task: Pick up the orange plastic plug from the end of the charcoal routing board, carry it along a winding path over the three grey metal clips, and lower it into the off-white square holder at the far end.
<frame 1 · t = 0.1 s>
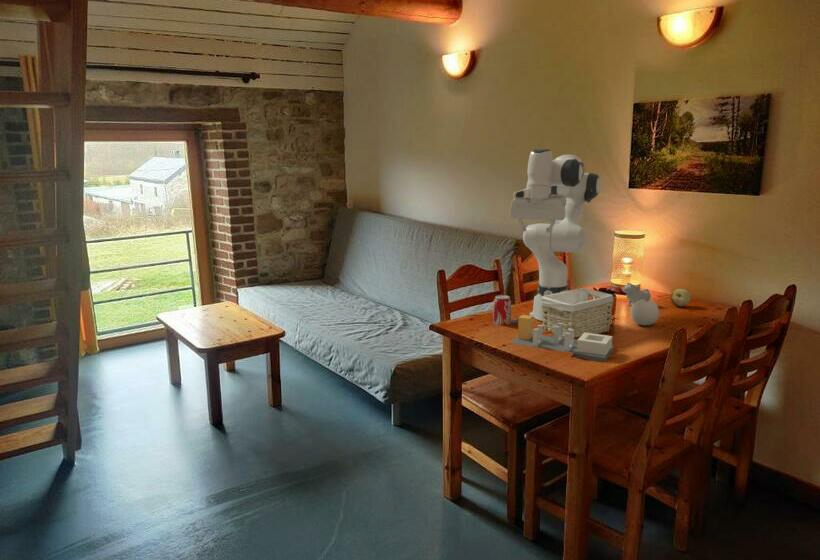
hand: (536, 231, 221), 39 cm above the table, tool pointing down, fingers open, 8 cm apart
plug: (525, 338, 219), point 1 cm above the table, touching routing board
dog figurine: (635, 306, 265), on the table
ornament: (643, 325, 238), on the table
routing board: (560, 348, 212), on the table
storage basket: (575, 333, 230), on the table
fruit: (679, 307, 264), on the table
soda can: (501, 326, 239), on the table
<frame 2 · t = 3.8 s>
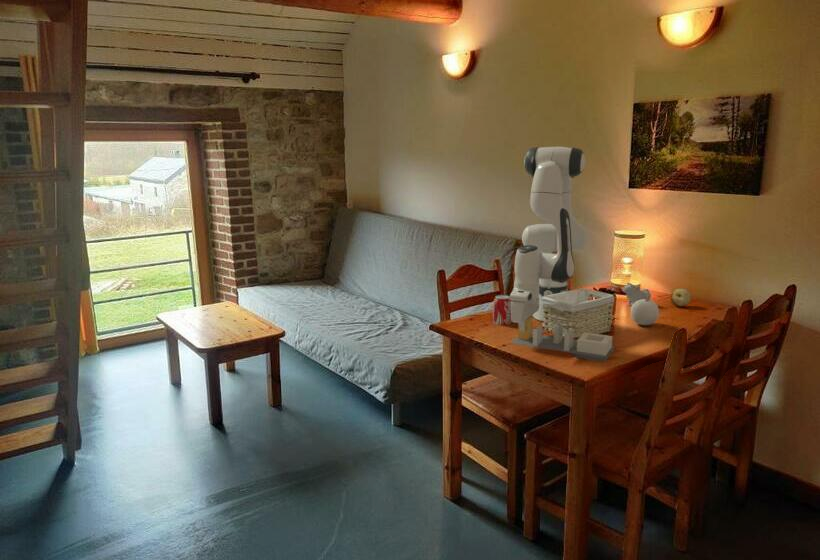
hand: (525, 328, 218), 5 cm above the table, tool pointing down, fingers closed on plug, 4 cm apart
plug: (525, 338, 219), point 2 cm above the table, touching gripper, routing board
everything else where it was.
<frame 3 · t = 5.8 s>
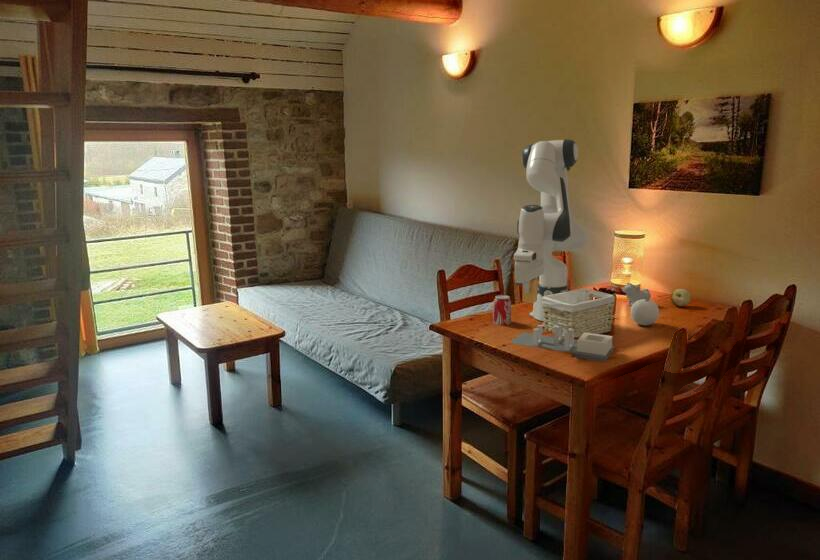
hand: (529, 291, 212), 20 cm above the table, tool pointing down, fingers closed on plug, 4 cm apart
plug: (529, 301, 213), point 16 cm above the table, touching gripper
everything else where it was.
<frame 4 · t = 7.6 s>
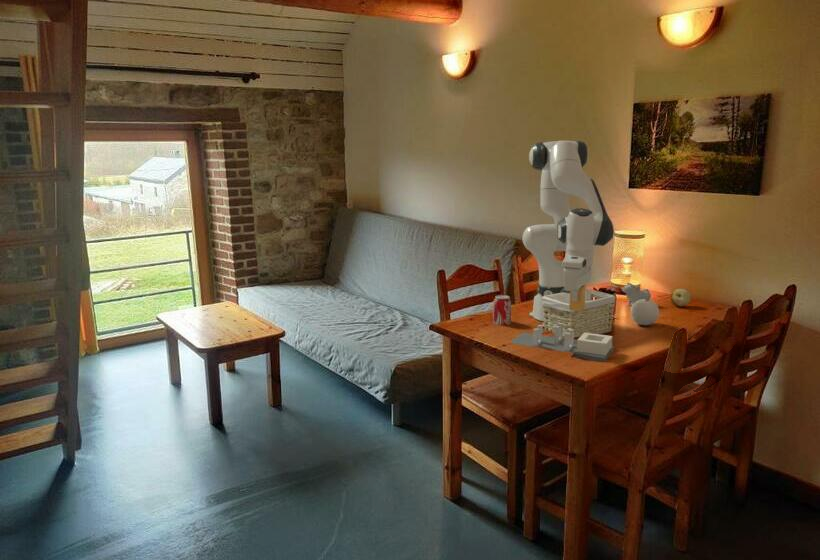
hand: (577, 299, 202), 19 cm above the table, tool pointing down, fingers closed on plug, 4 cm apart
plug: (577, 309, 203), point 16 cm above the table, touching gripper
everything else where it was.
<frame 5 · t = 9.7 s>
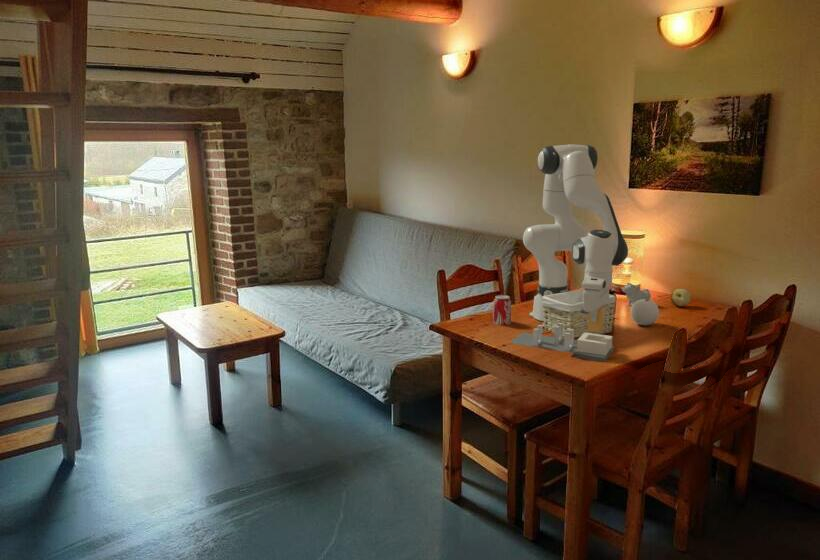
hand: (596, 319, 203), 12 cm above the table, tool pointing down, fingers closed on plug, 4 cm apart
plug: (595, 329, 204), point 9 cm above the table, touching gripper
everything else where it was.
when the fingers open (7 cm above the table, at t = 11.6 s): plug drops 2 cm, resting on routing board.
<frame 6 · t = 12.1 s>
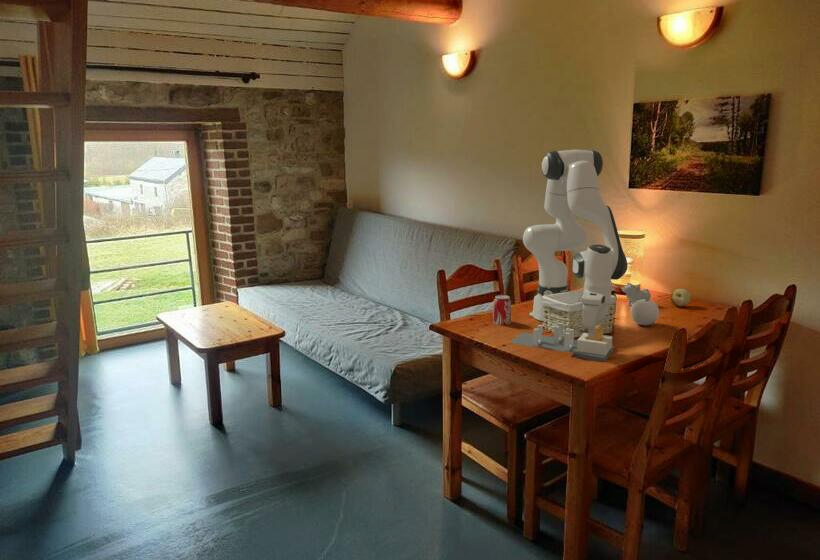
hand: (595, 333, 204), 7 cm above the table, tool pointing down, fingers open, 8 cm apart
plug: (594, 349, 206), point 1 cm above the table, touching routing board
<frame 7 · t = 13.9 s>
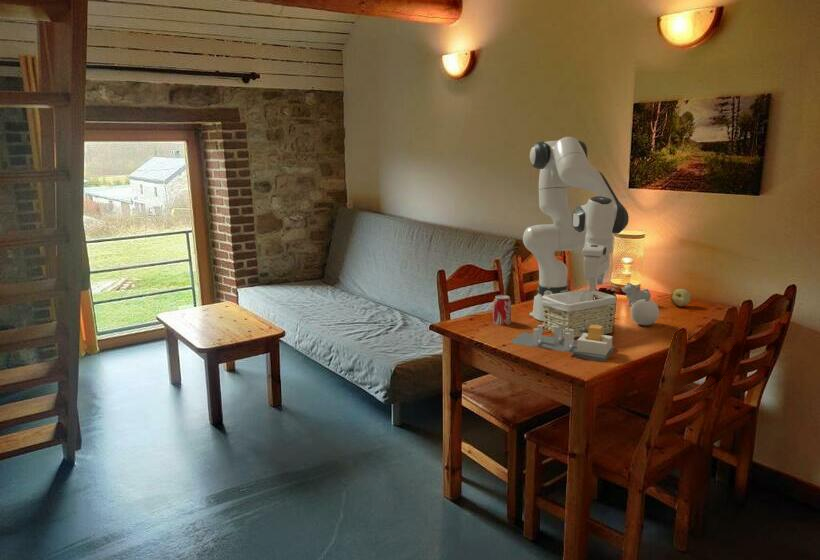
hand: (596, 287, 202), 23 cm above the table, tool pointing down, fingers open, 8 cm apart
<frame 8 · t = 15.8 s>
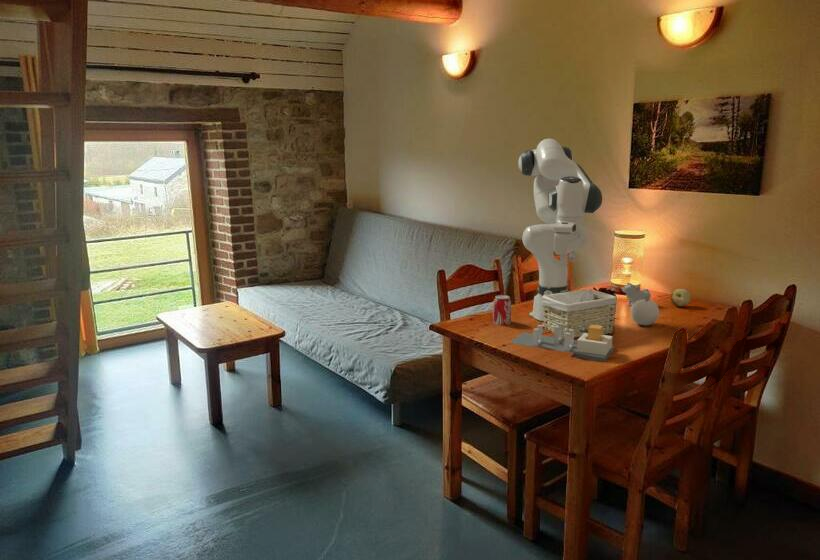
hand: (567, 263, 211), 29 cm above the table, tool pointing down, fingers open, 8 cm apart
at the end: plug 0.1 cm from the target spot, point 1.5 cm above the table; plug tilted 0°; the gripper is holding nothing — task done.
